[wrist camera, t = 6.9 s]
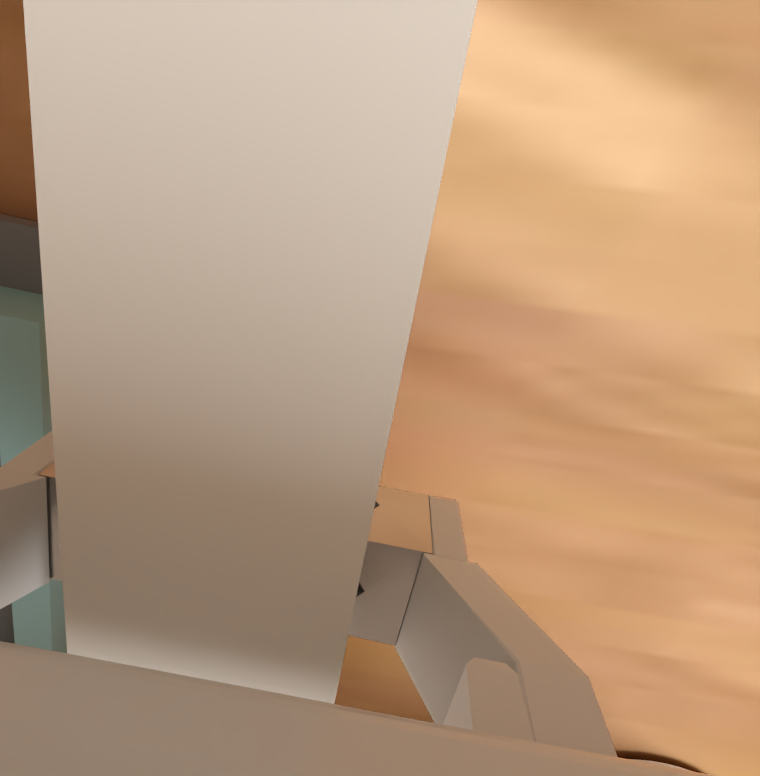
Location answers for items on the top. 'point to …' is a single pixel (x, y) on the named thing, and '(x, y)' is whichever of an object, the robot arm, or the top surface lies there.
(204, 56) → the long cream plank
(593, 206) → the top surface
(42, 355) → the cradle jig
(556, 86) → the top surface
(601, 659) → the top surface
